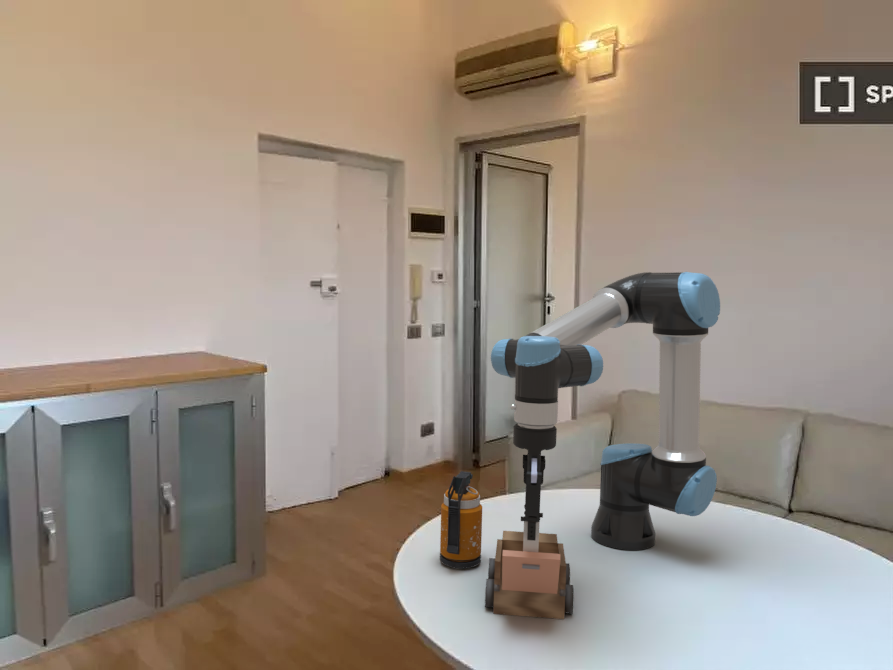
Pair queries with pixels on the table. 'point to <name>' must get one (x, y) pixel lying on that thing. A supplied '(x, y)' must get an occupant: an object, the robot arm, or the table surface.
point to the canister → (461, 524)
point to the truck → (528, 601)
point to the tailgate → (530, 571)
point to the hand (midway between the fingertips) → (530, 555)
